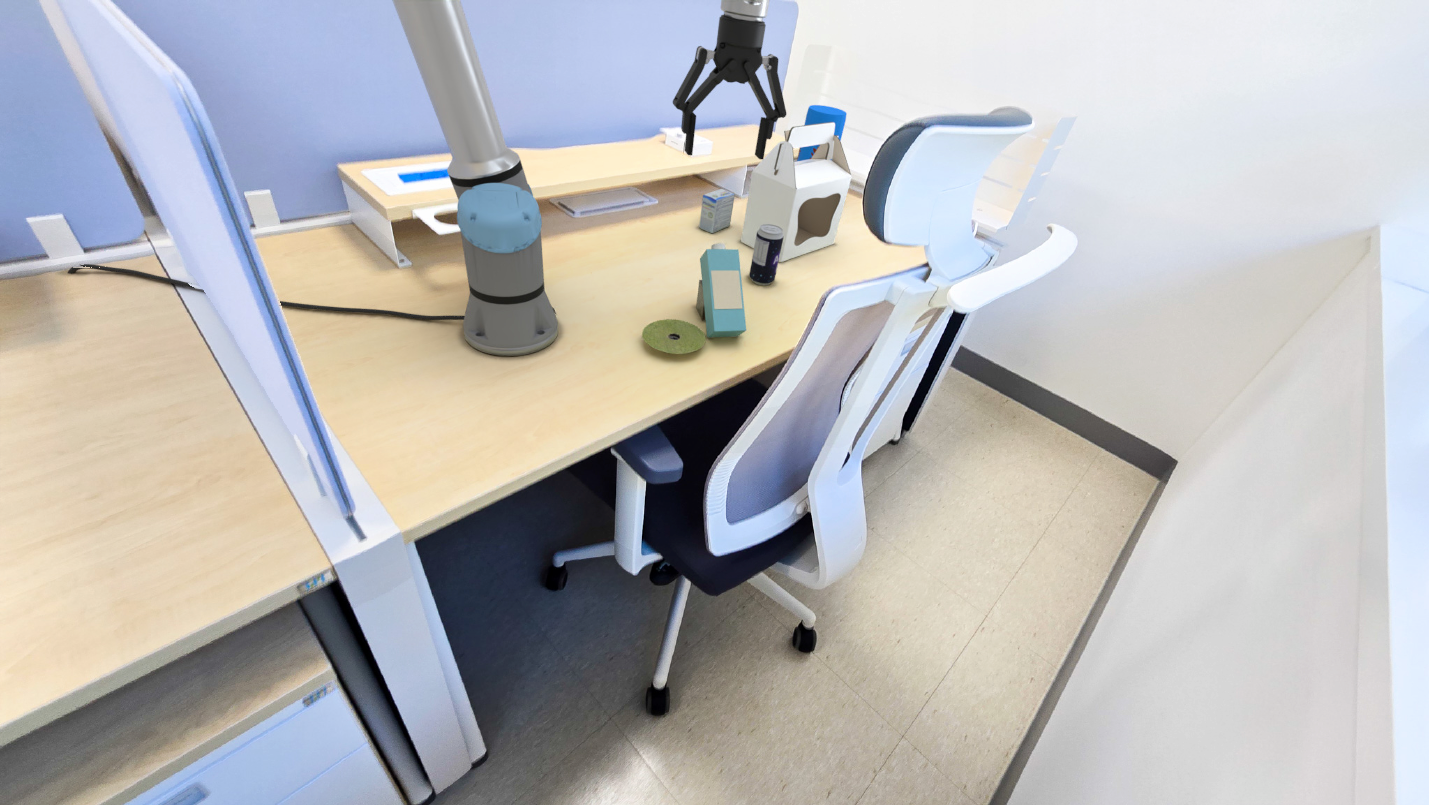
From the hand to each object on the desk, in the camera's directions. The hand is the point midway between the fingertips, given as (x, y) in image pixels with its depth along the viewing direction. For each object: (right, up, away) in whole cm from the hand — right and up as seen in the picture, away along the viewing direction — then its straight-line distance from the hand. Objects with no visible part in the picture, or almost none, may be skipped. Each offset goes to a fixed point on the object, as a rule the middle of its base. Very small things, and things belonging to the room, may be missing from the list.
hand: (724, 155), depth 105 cm
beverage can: (+9, -18, +22) cm, 30 cm away
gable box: (+17, -5, +41) cm, 44 cm away
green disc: (-9, -35, -2) cm, 36 cm away
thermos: (+26, +16, +68) cm, 75 cm away
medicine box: (-2, 0, +43) cm, 43 cm away
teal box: (-1, -31, +4) cm, 31 cm away
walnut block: (-2, -28, +8) cm, 29 cm away
